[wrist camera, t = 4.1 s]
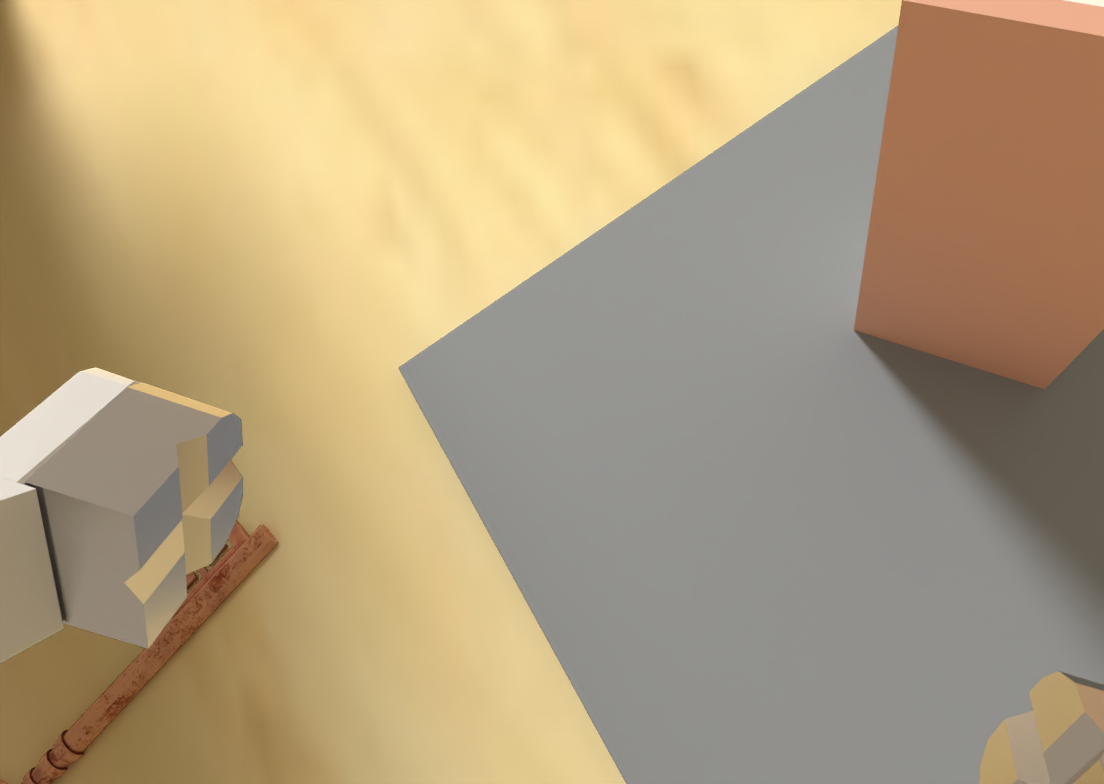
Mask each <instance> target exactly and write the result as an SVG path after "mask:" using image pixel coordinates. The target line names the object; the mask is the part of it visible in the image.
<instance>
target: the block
mask: <svg viewBox="0 0 1104 784" xmlns="http://www.w3.org/2000/svg"><path fill="white" fill-rule="evenodd" d="M1103 329H1104V0H902V5H901V12H900V18H899V25H898V32H897V39H896V46H895V53H894V59H893V66H892V73H891V80H890V87H889V93H888V100H887V107H886V114H885V121H884V127H883V134H882V141H881V148H880V155H879V161H878V168H877V175H876V182H875V189H874V195H873V202H872V209H871V216H870V223H869V229H868V236H867V243H866V250H865V257H864V263H863V270H862V277H861V284H860V291H859V297H858V304H857V311H856V318H855V325H854V330H855V331H858V332H862V333H865V334H868V335H871V336H875V337H878V338H881V339H884V340H887V341H891V342H894V343H897V344H900V345H903V346H907V347H910V348H913V349H916V350H920V351H923V352H926V353H929V354H932V355H936V356H939V357H942V358H945V359H948V360H952V361H955V362H958V363H961V364H965V365H968V366H971V367H974V368H977V369H981V370H984V371H987V372H990V373H993V374H997V375H1000V376H1003V377H1006V378H1009V379H1013V380H1016V381H1019V382H1022V383H1026V384H1029V385H1032V386H1035V387H1038V388H1042V389H1046V388H1047V387H1048V386H1049V384H1050V383H1051V382H1052V381H1053V380H1054V379H1055V378H1056V377H1057V376H1058V375H1059V374H1060V373H1061V372H1062V371H1063V370H1064V369H1065V368H1066V367H1067V366H1068V365H1069V364H1070V363H1071V362H1072V361H1073V360H1074V359H1075V358H1076V357H1077V356H1078V355H1079V354H1080V353H1081V352H1082V351H1083V350H1084V349H1085V348H1086V347H1087V346H1088V345H1089V344H1090V343H1091V341H1092V340H1093V339H1094V338H1095V337H1096V336H1097V335H1098V334H1099V333H1100V332H1101V331H1102V330H1103Z"/></svg>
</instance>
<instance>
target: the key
mask: <svg viewBox="0 0 1104 784" xmlns="http://www.w3.org/2000/svg"><path fill="white" fill-rule="evenodd" d="M228 539H229V540H230V541H231V543H232V544H233V546H232V547H231V548H230V549H229V550H228V551H227V552H226V554H225V555H224V556H223V557H222V558H221V559H220V560H219V561H218V562H217V563H216V564H215V565H214V566H213V567H212V568H211V570H210V571H208V570H207V569H206V567H203V568H200V569H198V571H199V572H200V574H201V575H202V577H203V578H202V579H201V580H200V581H199V582H198V583H197V584H196V585H195V586H194V587H193V588H192V589H191V590H190V591H189V592H188V593H187V598H186V599H185V600H184V602H183V603H182V604H181V606H180V607H179V608H178V610H177V611H176V612H175V614H174V615H173V616H172V617H173V619H172V620H171V621H170V622H169V623H168V624H167V626H166V627H165V628H164V629H163V630H162V631H161V633H160V634H159V635H158V637H157V638H156V639H155V641H154V642H153V643H152V645H151V646H150V647H149V649H147V648H145V649H144V650H143V651H142V652H141V653H140V654H139V655H138V657H137V658H136V659H135V660H134V661H133V662H132V663H131V664H130V665H129V666H128V667H127V668H126V669H125V670H124V671H123V673H122V674H121V675H120V676H119V677H118V678H117V679H116V680H115V681H114V682H113V683H112V684H111V685H110V686H109V688H108V689H107V690H106V691H105V692H104V693H103V694H102V695H101V696H100V697H99V698H98V699H97V700H96V701H95V702H94V704H93V705H92V706H91V707H90V708H89V709H88V710H87V711H86V712H85V713H84V714H83V715H82V716H81V717H80V719H79V720H78V721H77V722H76V723H75V724H74V725H73V726H72V727H71V728H70V729H69V730H65V731H64V732H62V734H61V735H60V736H59V738H58V739H57V741H56V742H55V744H54V746H53V749H50V750H49V751H48V752H47V753H46V754H45V755H44V756H43V757H42V758H41V759H40V764H39V765H38V766H37V767H35V768H32V769H31V770H30V771H29V772H28V773H27V774H26V775H25V777H24V778H23V782H22V783H21V784H51V783H52V782H53V781H54V780H55V778H56V777H60V776H61V775H62V774H63V773H64V772H65V771H66V770H67V769H68V768H66V767H67V766H68V765H69V764H70V763H73V762H75V761H76V760H77V759H79V758H80V757H81V756H83V755H84V754H85V753H83V751H84V750H85V749H86V748H87V747H88V745H89V744H90V743H91V742H92V741H93V740H94V739H95V738H96V737H97V736H98V735H99V734H100V733H101V732H102V730H103V729H104V728H105V727H106V726H107V725H108V724H109V723H110V722H111V721H112V720H113V719H114V718H115V717H116V716H117V714H118V713H119V712H120V711H121V710H122V709H123V708H124V707H125V706H126V705H127V704H128V703H129V702H130V701H131V699H132V698H133V697H134V696H135V695H136V694H137V693H138V692H139V691H140V690H141V689H142V688H143V687H144V686H145V684H146V683H147V682H148V681H149V680H150V679H151V678H152V677H153V676H154V675H155V674H156V673H157V672H158V671H159V670H160V668H161V667H162V666H163V665H164V664H165V663H166V662H167V661H168V660H169V659H170V658H171V657H172V656H173V655H174V653H175V652H176V651H177V650H178V649H179V648H180V647H181V646H182V645H183V644H184V643H185V642H186V641H187V640H188V638H189V637H190V636H191V635H192V634H193V633H194V632H195V631H196V630H197V629H198V628H199V627H200V626H201V625H202V623H203V622H204V621H205V620H206V619H207V618H208V617H209V616H210V615H211V614H212V613H213V612H214V611H215V610H216V609H217V607H218V606H219V605H220V604H221V603H222V602H223V601H224V600H225V599H226V598H227V597H228V596H229V595H230V594H231V592H232V591H233V590H234V589H235V588H236V587H237V586H238V585H239V584H240V583H241V582H242V581H243V580H244V579H245V577H246V576H247V575H248V574H249V573H250V572H251V571H252V570H253V569H254V568H255V567H256V566H257V565H258V564H259V563H260V561H261V560H262V559H263V558H264V557H265V556H266V555H267V554H268V553H269V552H270V551H271V550H272V549H273V548H274V546H275V545H276V544H277V543H278V541H277V540H276V539H275V538H274V536H273V535H272V534H271V533H270V532H269V530H268V529H267V528H266V527H265V525H260V526H259V527H258V528H257V529H256V530H255V531H254V533H253V534H252V535H251V536H249V535H248V534H247V532H246V531H245V530H244V529H243V527H242V526H241V525H240V524H239V522H238V521H237V520H236V522H235V524H234V527H233V529H232V531H231V533H230V536H229V538H228ZM227 547H228V546H227V544H225V545H224V547H223V548H222V549H221V551H220V552H219V554H218V555H217V557H218V556H219V555H220V554H221V553H222V552H223V551H224V550H225V549H226V548H227ZM217 557H216V558H217ZM216 558H215V559H214V561H215V560H216ZM214 561H213V562H214ZM213 562H212V563H213ZM197 579H198V577H197V576H196V574H195V573H194V572H191V573H189V574H187V575H186V584H187V590H188V589H189V587H190V586H191V585H192V584H193V583H194V582H195V581H196V580H197ZM0 784H7V783H5V782H4V781H2V780H0Z"/></svg>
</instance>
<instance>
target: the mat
mask: <svg viewBox="0 0 1104 784" xmlns="http://www.w3.org/2000/svg"><path fill="white" fill-rule="evenodd" d="M897 32H898V26H897V27H895V28H894V29H892V30H891V31H889V32H888V33H887V34H885V35H884V36H882V37H881V38H879V39H878V40H876V41H875V42H873V43H872V44H870V45H869V46H868V47H866V48H865V49H863V50H862V51H860V52H859V53H857V54H856V55H854V56H853V57H851V58H850V59H849V60H847V61H846V62H844V63H843V64H841V65H840V66H838V67H837V68H835V69H834V70H832V71H831V72H830V73H828V74H827V75H825V76H824V77H822V78H821V79H819V80H818V81H816V82H815V83H813V84H812V85H811V86H809V87H808V88H806V89H805V90H803V91H802V92H800V93H799V94H797V95H796V96H795V97H793V98H792V99H790V100H789V101H787V102H786V103H784V104H783V105H781V106H780V107H778V108H777V109H776V110H774V111H773V112H771V113H770V114H768V115H767V116H765V117H764V118H762V119H761V120H759V121H758V122H757V123H755V124H754V125H752V126H751V127H749V128H748V129H746V130H745V131H743V132H742V133H740V134H739V135H738V136H736V137H735V138H733V139H732V140H730V141H729V142H727V143H726V144H724V145H723V146H721V147H720V148H719V149H717V150H716V151H714V152H713V153H711V154H710V155H708V156H707V157H705V158H704V159H703V160H701V161H700V162H698V163H697V164H695V165H694V166H692V167H691V168H689V169H688V170H686V171H685V172H684V173H682V174H681V175H679V176H678V177H676V178H675V179H673V180H672V181H670V182H669V183H667V184H666V185H665V186H663V187H662V188H660V189H659V190H657V191H656V192H654V193H653V194H651V195H650V196H648V197H647V198H646V199H644V200H643V201H641V202H640V203H638V204H637V205H635V206H634V207H632V208H631V209H629V210H628V211H627V212H625V213H624V214H622V215H621V216H619V217H618V218H616V219H615V220H613V221H612V222H611V223H609V224H608V225H606V226H605V227H603V228H602V229H600V230H599V231H597V232H596V233H594V234H593V235H592V236H590V237H589V238H587V239H586V240H584V241H583V242H581V243H580V244H578V245H577V246H575V247H574V248H573V249H571V250H570V251H568V252H567V253H565V254H564V255H562V256H561V257H559V258H558V259H556V260H555V261H554V262H552V263H551V264H549V265H548V266H546V267H545V268H543V269H542V270H540V271H539V272H537V273H536V274H535V275H533V276H532V277H530V278H529V279H527V280H526V281H524V282H523V283H521V284H520V285H518V286H517V287H516V288H514V289H513V290H511V291H510V292H508V293H507V294H505V295H504V296H502V297H501V298H500V299H498V300H497V301H495V302H494V303H492V304H491V305H489V306H488V307H486V308H485V309H483V310H482V311H481V312H479V313H478V314H476V315H475V316H473V317H472V318H470V319H469V320H467V321H466V322H464V323H463V324H462V325H460V326H459V327H457V328H456V329H454V330H453V331H451V332H450V333H448V334H447V335H445V336H444V337H443V338H441V339H440V340H438V341H437V342H435V343H434V344H432V345H431V346H429V347H428V348H426V349H425V350H424V351H422V352H421V353H419V354H418V355H416V356H415V357H413V358H412V359H410V360H409V361H408V362H406V363H405V364H403V365H402V366H400V367H399V370H400V372H401V374H402V376H403V377H404V379H405V381H406V383H407V385H408V387H409V388H410V390H411V392H412V394H413V396H414V397H415V399H416V401H417V403H418V405H419V407H420V408H421V410H422V412H423V414H424V416H425V418H426V419H427V421H428V423H429V425H430V427H431V428H432V430H433V432H434V434H435V436H436V438H437V439H438V441H439V443H440V445H441V447H442V449H443V450H444V452H445V454H446V456H447V458H448V459H449V461H450V463H451V465H452V467H453V469H454V470H455V472H456V474H457V476H458V478H459V480H460V481H461V483H462V485H463V487H464V489H465V490H466V492H467V494H468V496H469V498H470V500H471V501H472V503H473V505H474V507H475V509H476V511H477V512H478V514H479V516H480V518H481V520H482V521H483V523H484V525H485V527H486V529H487V531H488V532H489V534H490V536H491V538H492V540H493V542H494V543H495V545H496V547H497V549H498V551H499V552H500V554H501V556H502V558H503V560H504V562H505V563H506V565H507V567H508V569H509V571H510V573H511V574H512V576H513V578H514V580H515V582H516V583H517V585H518V587H519V589H520V591H521V593H522V594H523V596H524V598H525V600H526V602H527V603H528V605H529V607H530V609H531V611H532V613H533V614H534V616H535V618H536V620H537V622H538V624H539V625H540V627H541V629H542V631H543V633H544V634H545V636H546V638H547V640H548V642H549V644H550V645H551V647H552V649H553V651H554V653H555V655H556V656H557V658H558V660H559V662H560V664H561V665H562V667H563V669H564V671H565V673H566V675H567V676H568V678H569V680H570V682H571V684H572V686H573V687H574V689H575V691H576V693H577V695H578V696H579V698H580V700H581V702H582V704H583V706H584V707H585V709H586V711H587V713H588V715H589V717H590V718H591V720H592V722H593V724H594V726H595V727H596V729H597V731H598V733H599V735H600V737H601V738H602V740H603V742H604V744H605V746H606V748H607V749H608V751H609V753H610V755H611V757H612V758H613V760H614V762H615V764H616V766H617V768H618V769H619V771H620V773H621V775H622V777H623V779H624V780H625V782H626V784H979V779H980V764H981V760H982V757H983V754H984V751H985V748H986V744H987V741H988V739H989V738H990V736H991V735H992V734H993V733H994V731H995V730H996V729H997V728H998V727H999V725H1000V724H1001V723H1002V722H1003V720H1004V719H1006V718H1010V717H1013V716H1016V715H1020V714H1023V713H1026V712H1030V711H1033V710H1032V706H1031V701H1030V696H1029V692H1030V691H1031V689H1032V688H1033V687H1034V686H1035V685H1036V684H1037V683H1038V682H1039V681H1040V680H1041V679H1042V678H1043V677H1044V676H1047V675H1050V674H1052V673H1055V672H1058V671H1060V672H1063V673H1067V674H1070V675H1073V676H1077V677H1080V678H1083V679H1087V680H1090V681H1093V682H1096V683H1100V684H1103V685H1104V329H1103V330H1102V331H1101V332H1100V333H1099V334H1098V335H1097V336H1096V337H1095V338H1094V339H1093V340H1092V341H1091V343H1090V344H1089V345H1088V346H1087V347H1086V348H1085V349H1084V350H1083V351H1082V352H1081V353H1080V354H1079V355H1078V356H1077V357H1076V358H1075V359H1074V360H1073V361H1072V362H1071V363H1070V364H1069V365H1068V366H1067V367H1066V368H1065V369H1064V370H1063V371H1062V372H1061V373H1060V374H1059V375H1058V376H1057V377H1056V378H1055V379H1054V380H1053V381H1052V382H1051V383H1050V384H1049V386H1048V387H1047V388H1046V389H1042V388H1038V387H1035V386H1032V385H1029V384H1026V383H1022V382H1019V381H1016V380H1013V379H1009V378H1006V377H1003V376H1000V375H997V374H993V373H990V372H987V371H984V370H981V369H977V368H974V367H971V366H968V365H965V364H961V363H958V362H955V361H952V360H948V359H945V358H942V357H939V356H936V355H932V354H929V353H926V352H923V351H920V350H916V349H913V348H910V347H907V346H903V345H900V344H897V343H894V342H891V341H887V340H884V339H881V338H878V337H875V336H871V335H868V334H865V333H862V332H858V331H855V330H854V325H855V318H856V311H857V304H858V297H859V291H860V284H861V277H862V270H863V263H864V257H865V250H866V243H867V236H868V229H869V223H870V216H871V209H872V202H873V195H874V189H875V182H876V175H877V168H878V161H879V155H880V148H881V141H882V134H883V127H884V121H885V114H886V107H887V100H888V93H889V87H890V80H891V73H892V66H893V59H894V53H895V46H896V39H897Z"/></svg>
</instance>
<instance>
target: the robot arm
mask: <svg viewBox="0 0 1104 784" xmlns="http://www.w3.org/2000/svg"><path fill="white" fill-rule="evenodd" d="M242 445H243V442H242V423H241V419H240V418H239V417H238V416H236V415H235V414H234V413H232V412H229V411H226V410H223V409H220V408H217V407H214V406H211V405H208V404H205V403H202V402H199V401H196V400H193V399H191V398H188V397H185V396H182V395H179V394H176V393H173V392H170V391H167V390H164V389H161V388H158V387H155V386H152V385H149V384H146V383H144V382H141V383H140V382H137V381H134V380H131V379H128V378H125V377H123V376H120V375H117V374H114V373H111V372H108V371H105V370H102V369H99V368H97V367H95V368H91V369H87V370H83V371H80V372H78V373H77V374H75V375H74V376H73V377H72V378H70V379H69V380H68V381H67V382H66V383H64V384H63V385H62V386H61V387H60V388H58V389H57V390H56V391H55V392H54V393H52V394H51V395H50V396H49V397H48V398H46V399H45V400H44V401H43V402H42V403H40V404H39V405H38V406H37V407H36V408H34V409H33V410H32V411H31V412H29V413H28V414H27V415H26V416H25V417H23V418H22V419H21V420H20V421H19V422H17V423H16V424H15V425H14V426H13V427H11V428H10V429H9V430H8V431H7V432H5V433H4V434H3V435H2V436H1V437H0V663H2V662H4V661H6V660H8V659H9V658H11V657H13V656H15V655H17V654H19V653H20V652H22V651H24V650H26V649H28V648H30V647H31V646H33V645H35V644H37V643H39V642H41V641H42V640H44V639H46V638H48V637H50V636H52V635H53V634H55V633H57V632H59V631H61V630H63V628H64V625H63V624H67V625H70V626H73V627H77V628H80V629H83V630H87V631H90V632H93V633H97V634H100V635H103V636H107V637H110V638H113V639H117V640H120V641H123V642H127V643H130V644H133V645H137V646H140V647H143V648H147V649H149V647H150V646H151V645H152V643H153V642H154V641H155V639H156V638H157V637H158V635H159V634H160V633H161V631H162V630H163V629H164V627H165V626H166V625H167V623H168V622H169V620H170V619H171V618H172V616H173V615H174V614H175V612H176V611H177V610H178V608H179V607H180V606H181V604H182V603H183V602H184V600H185V599H186V598H187V584H186V575H187V574H189V573H191V572H193V571H196V570H198V569H200V568H203V567H205V566H207V565H209V564H212V562H213V561H214V559H215V558H216V557H217V555H218V554H219V552H220V551H221V549H222V548H223V547H224V545H225V544H226V542H227V540H228V538H229V536H230V533H231V531H232V529H233V527H234V524H235V522H236V520H237V518H238V515H239V510H240V505H241V501H242V496H243V477H242V475H241V474H240V472H239V471H238V469H237V468H236V467H235V465H234V464H233V462H232V461H231V459H232V457H233V456H234V455H235V454H236V452H237V451H238V450H239V449H240V447H241V446H242ZM1029 696H1030V701H1031V706H1032V710H1033V711H1030V712H1026V713H1023V714H1020V715H1016V716H1013V717H1010V718H1006V719H1004V720H1003V722H1002V723H1001V724H1000V725H999V727H998V728H997V729H996V730H995V731H994V733H993V734H992V735H991V736H990V738H989V739H988V741H987V744H986V748H985V751H984V754H983V757H982V760H981V764H980V779H979V784H1104V685H1103V684H1100V683H1096V682H1093V681H1090V680H1087V679H1083V678H1080V677H1077V676H1073V675H1070V674H1067V673H1063V672H1060V671H1058V672H1055V673H1052V674H1050V675H1047V676H1044V677H1043V678H1042V679H1041V680H1040V681H1039V682H1038V683H1037V684H1036V685H1035V686H1034V687H1033V688H1032V689H1031V691H1030V692H1029Z"/></svg>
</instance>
